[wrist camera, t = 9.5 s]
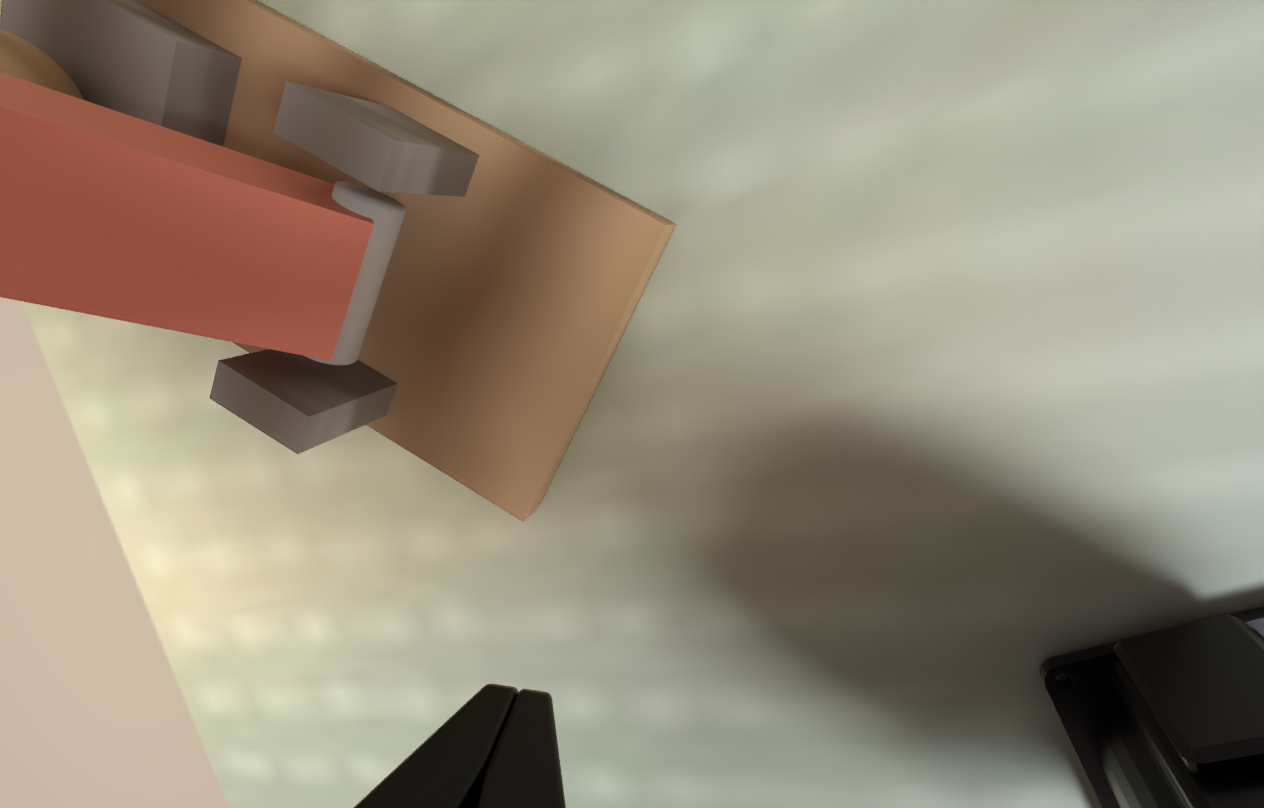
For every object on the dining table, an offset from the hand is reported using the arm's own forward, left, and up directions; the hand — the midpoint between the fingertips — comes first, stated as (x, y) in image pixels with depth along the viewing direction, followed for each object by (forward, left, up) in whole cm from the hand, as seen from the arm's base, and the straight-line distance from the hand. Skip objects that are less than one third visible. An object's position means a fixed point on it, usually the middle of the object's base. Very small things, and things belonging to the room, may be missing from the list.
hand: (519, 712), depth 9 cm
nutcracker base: (+11, +8, -12) cm, 18 cm away
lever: (+8, +6, -9) cm, 14 cm away
